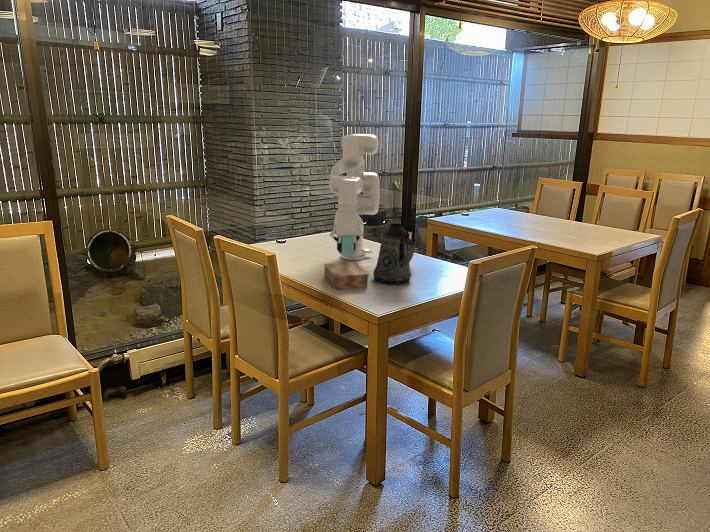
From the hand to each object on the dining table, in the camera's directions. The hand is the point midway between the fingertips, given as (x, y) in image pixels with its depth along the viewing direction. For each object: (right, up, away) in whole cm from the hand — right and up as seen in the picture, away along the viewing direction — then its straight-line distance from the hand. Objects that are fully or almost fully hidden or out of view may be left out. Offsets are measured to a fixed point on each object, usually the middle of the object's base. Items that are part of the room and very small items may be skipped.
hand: (346, 251), depth 224 cm
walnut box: (0, -13, +4) cm, 14 cm away
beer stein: (+21, -13, +9) cm, 26 cm away
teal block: (0, -1, 0) cm, 1 cm away
